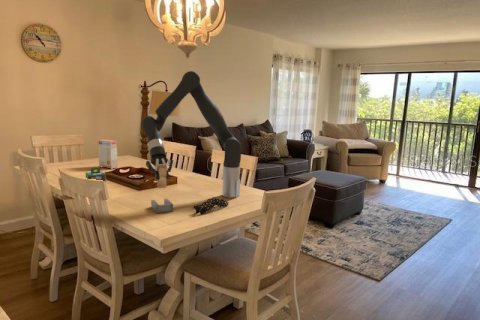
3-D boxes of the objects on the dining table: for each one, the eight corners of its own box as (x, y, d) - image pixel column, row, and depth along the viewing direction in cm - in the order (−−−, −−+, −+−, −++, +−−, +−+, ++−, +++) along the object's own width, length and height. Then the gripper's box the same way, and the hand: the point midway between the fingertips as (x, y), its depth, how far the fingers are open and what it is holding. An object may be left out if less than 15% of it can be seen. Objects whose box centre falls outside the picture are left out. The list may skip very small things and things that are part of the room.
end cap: (151, 206, 176) (151, 199, 176) (167, 205, 180) (167, 198, 179) (156, 213, 167) (156, 206, 166) (173, 211, 170) (173, 204, 170)
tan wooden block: (157, 186, 172) (157, 164, 171) (164, 185, 174) (164, 164, 172) (159, 188, 169) (159, 165, 167) (166, 187, 170) (166, 165, 169)
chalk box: (103, 190, 204) (102, 165, 201) (106, 194, 196) (105, 167, 194) (85, 191, 199) (84, 166, 196) (88, 195, 191) (87, 169, 189)
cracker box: (117, 168, 265) (117, 140, 261) (111, 169, 260) (110, 141, 256) (105, 165, 272) (105, 139, 269) (99, 167, 267) (98, 139, 264)
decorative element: (222, 204, 186) (222, 193, 185) (230, 206, 183) (230, 195, 182) (191, 214, 169) (191, 202, 168) (198, 216, 165) (199, 204, 164)
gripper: (143, 145, 172) (149, 175, 163) (172, 145, 178) (179, 173, 169) (141, 154, 177) (146, 184, 169) (169, 153, 183) (175, 182, 175)
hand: (162, 178), depth 169 cm, fingers closed on tan wooden block, 3 cm apart
